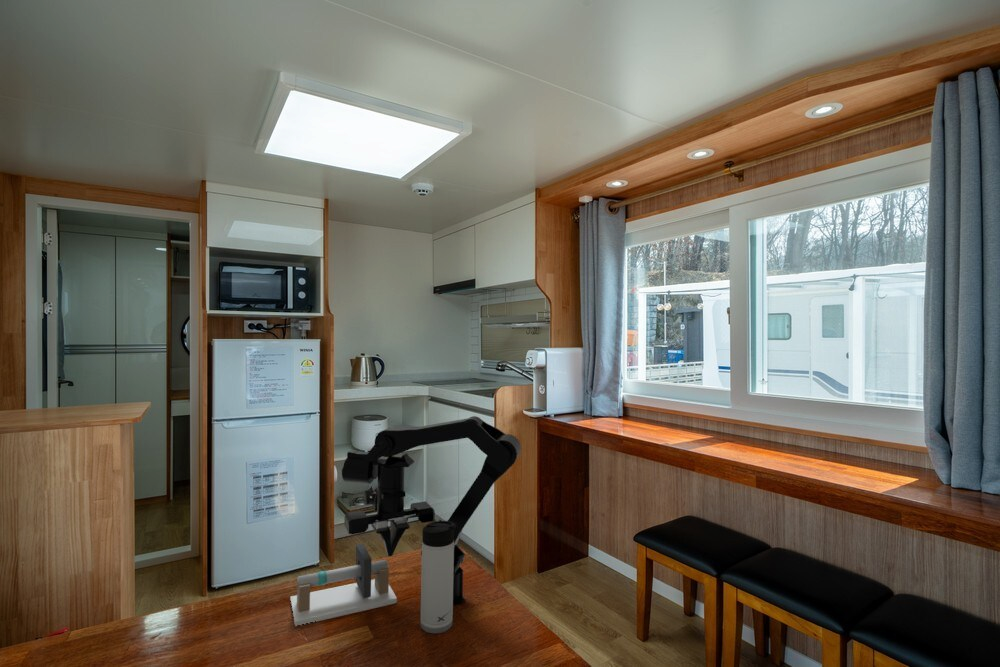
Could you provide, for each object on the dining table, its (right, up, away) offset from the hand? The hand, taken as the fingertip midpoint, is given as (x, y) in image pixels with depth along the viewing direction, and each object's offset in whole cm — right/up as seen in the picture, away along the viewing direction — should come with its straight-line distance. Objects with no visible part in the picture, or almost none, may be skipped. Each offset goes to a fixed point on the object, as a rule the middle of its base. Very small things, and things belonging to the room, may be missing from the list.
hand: (389, 555), depth 112 cm
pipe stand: (-9, -8, -4) cm, 13 cm away
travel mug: (+12, -9, -12) cm, 19 cm away
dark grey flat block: (-5, -6, -2) cm, 8 cm away
